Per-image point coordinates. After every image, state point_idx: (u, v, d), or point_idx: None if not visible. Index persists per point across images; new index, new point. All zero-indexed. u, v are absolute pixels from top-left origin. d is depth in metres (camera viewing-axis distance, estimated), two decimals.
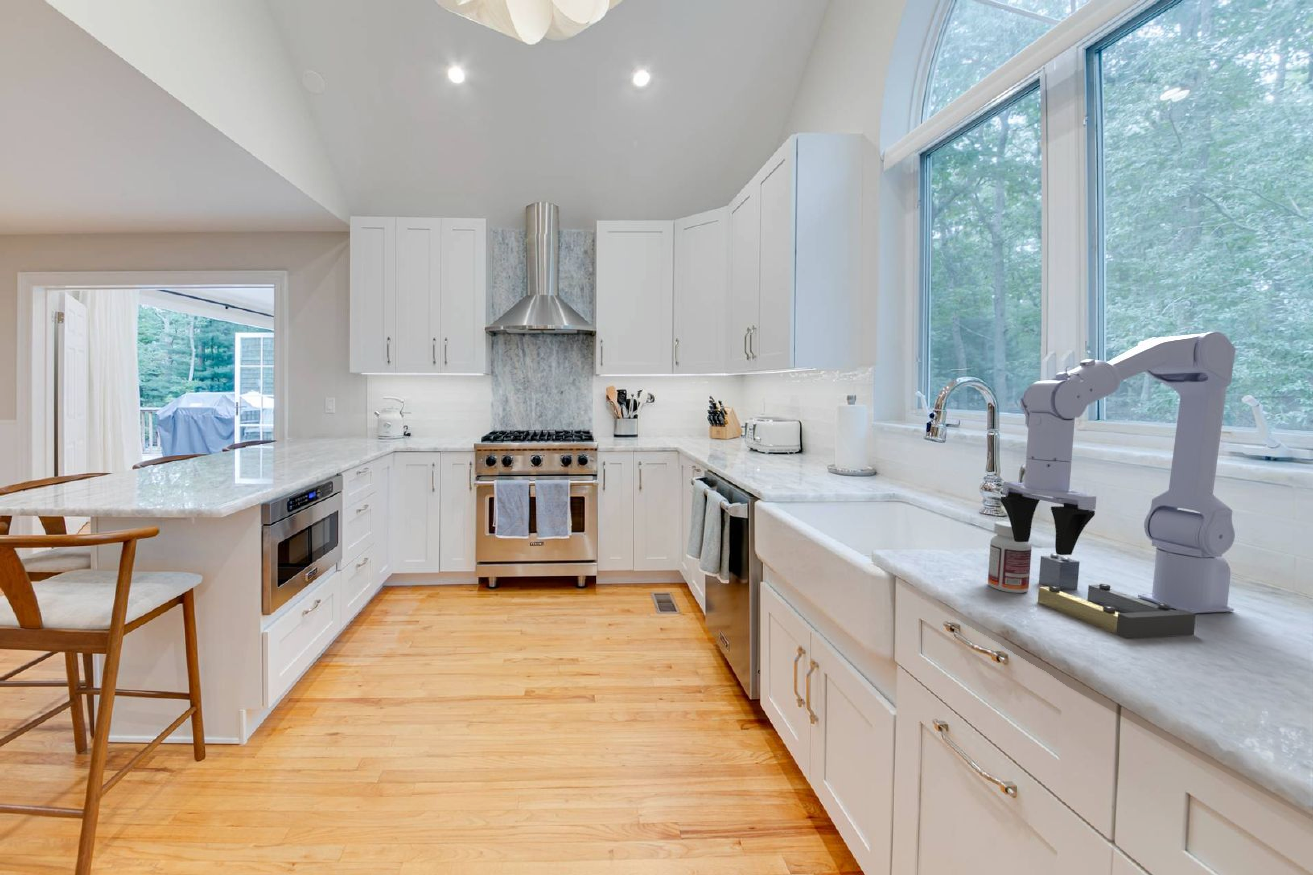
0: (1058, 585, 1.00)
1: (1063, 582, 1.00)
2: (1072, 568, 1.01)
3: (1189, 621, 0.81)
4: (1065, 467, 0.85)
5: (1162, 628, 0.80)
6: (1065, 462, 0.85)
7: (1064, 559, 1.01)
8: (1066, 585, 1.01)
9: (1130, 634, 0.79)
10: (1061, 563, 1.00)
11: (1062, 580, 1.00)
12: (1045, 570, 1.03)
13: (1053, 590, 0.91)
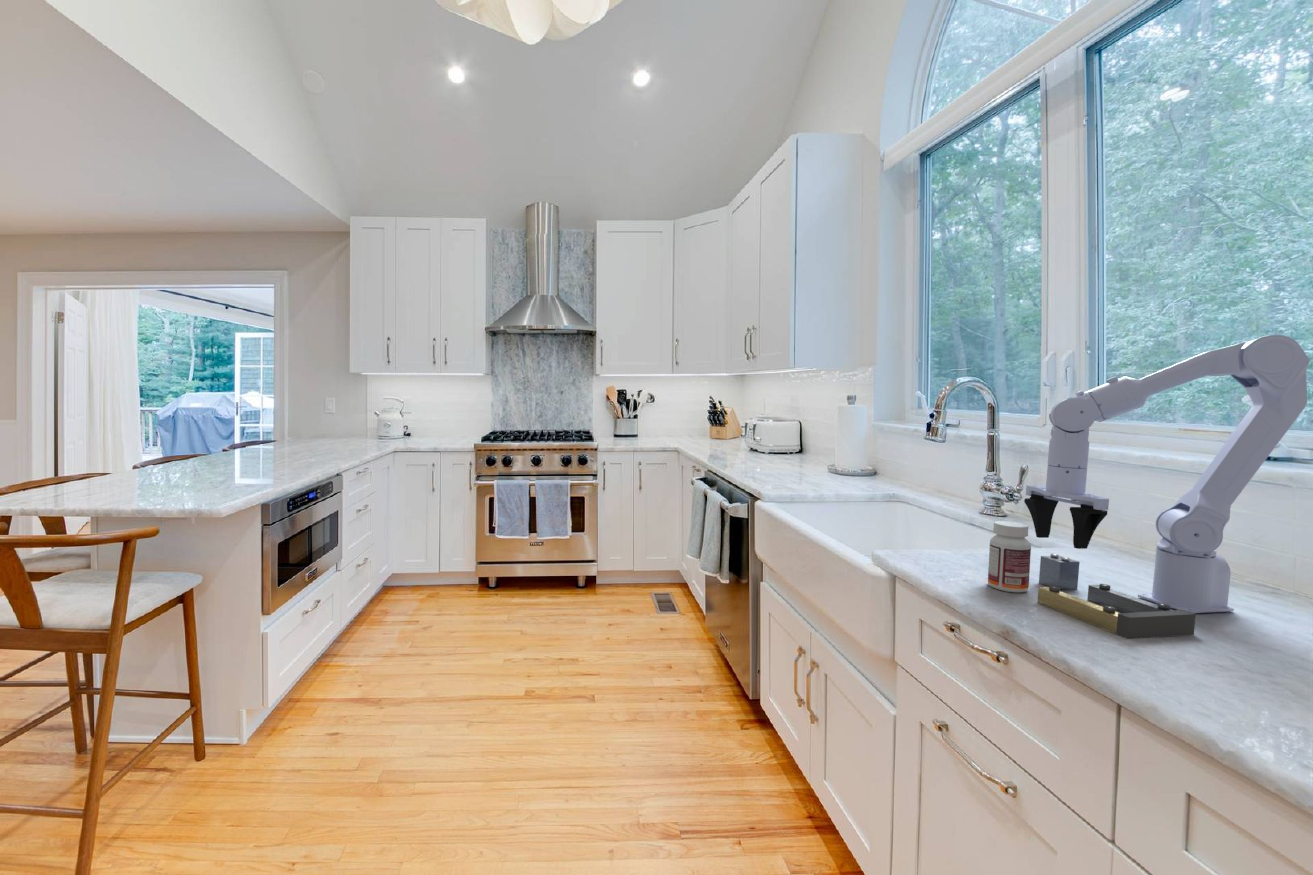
0: (1058, 585, 1.00)
1: (1063, 582, 1.00)
2: (1072, 568, 1.01)
3: (1189, 621, 0.81)
4: (1082, 473, 0.99)
5: (1162, 628, 0.80)
6: (1082, 469, 0.99)
7: (1064, 559, 1.01)
8: (1066, 585, 1.01)
9: (1130, 634, 0.79)
10: (1061, 563, 1.00)
11: (1062, 580, 1.00)
12: (1045, 570, 1.03)
13: (1053, 590, 0.91)
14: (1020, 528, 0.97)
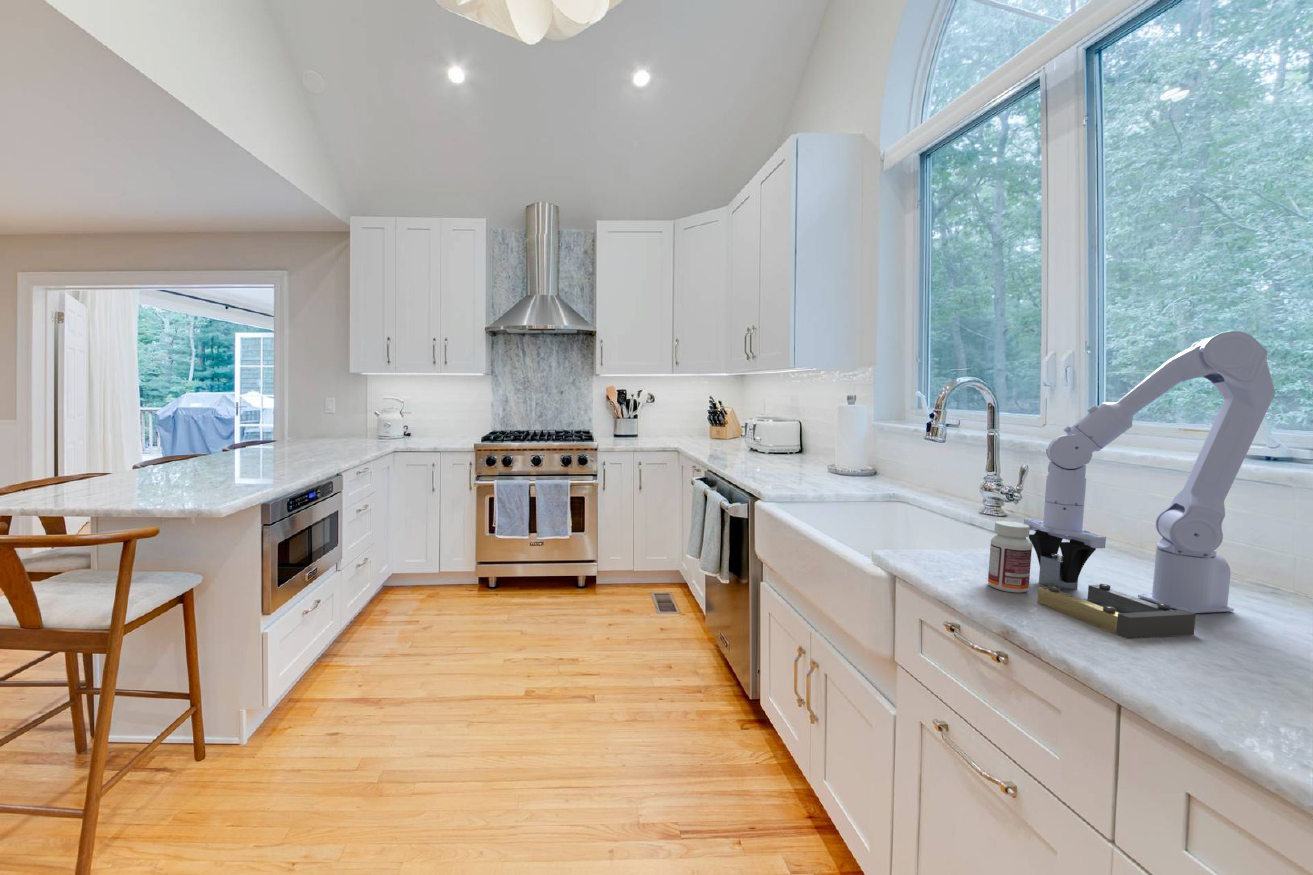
0: (1058, 585, 1.00)
1: (1063, 582, 1.00)
2: None
3: (1189, 621, 0.81)
4: (1079, 510, 0.99)
5: (1162, 628, 0.80)
6: (1079, 506, 0.99)
7: None
8: (1066, 585, 1.01)
9: (1130, 634, 0.79)
10: (1061, 563, 1.00)
11: (1062, 580, 1.00)
12: (1045, 570, 1.03)
13: (1053, 590, 0.91)
14: (1021, 528, 0.97)
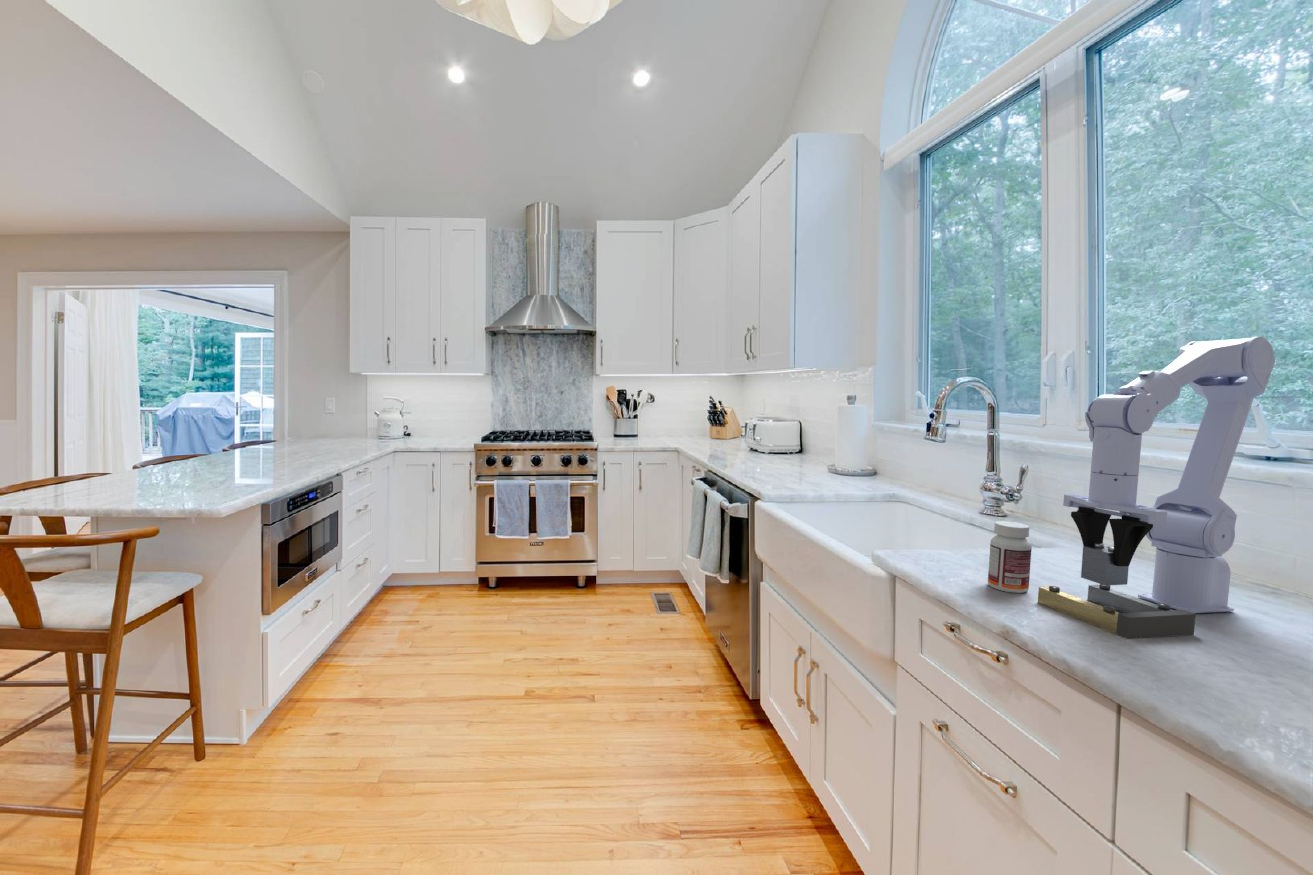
0: (1105, 579, 0.86)
1: (1110, 576, 0.86)
2: None
3: (1189, 621, 0.81)
4: (1133, 481, 0.85)
5: (1162, 628, 0.80)
6: (1133, 476, 0.85)
7: (1112, 549, 0.87)
8: (1114, 580, 0.86)
9: (1130, 634, 0.79)
10: (1108, 554, 0.86)
11: (1110, 574, 0.86)
12: (1089, 562, 0.89)
13: (1053, 590, 0.91)
14: (1021, 529, 0.97)
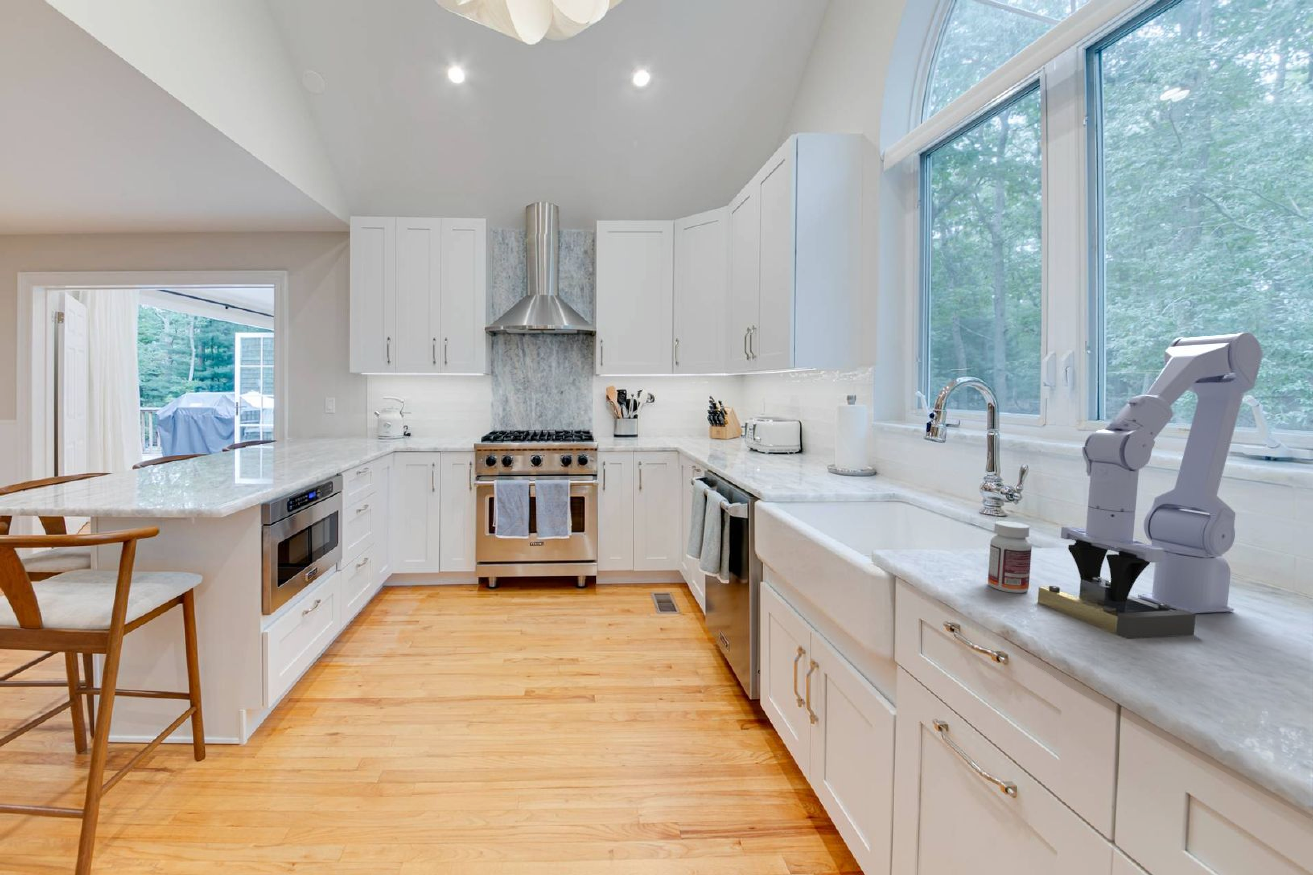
0: None
1: None
2: None
3: (1189, 621, 0.81)
4: (1130, 517, 0.85)
5: (1162, 628, 0.80)
6: (1130, 512, 0.85)
7: (1109, 583, 0.87)
8: None
9: (1130, 634, 0.79)
10: (1106, 588, 0.86)
11: None
12: (1086, 595, 0.89)
13: (1053, 590, 0.91)
14: (1021, 529, 0.97)
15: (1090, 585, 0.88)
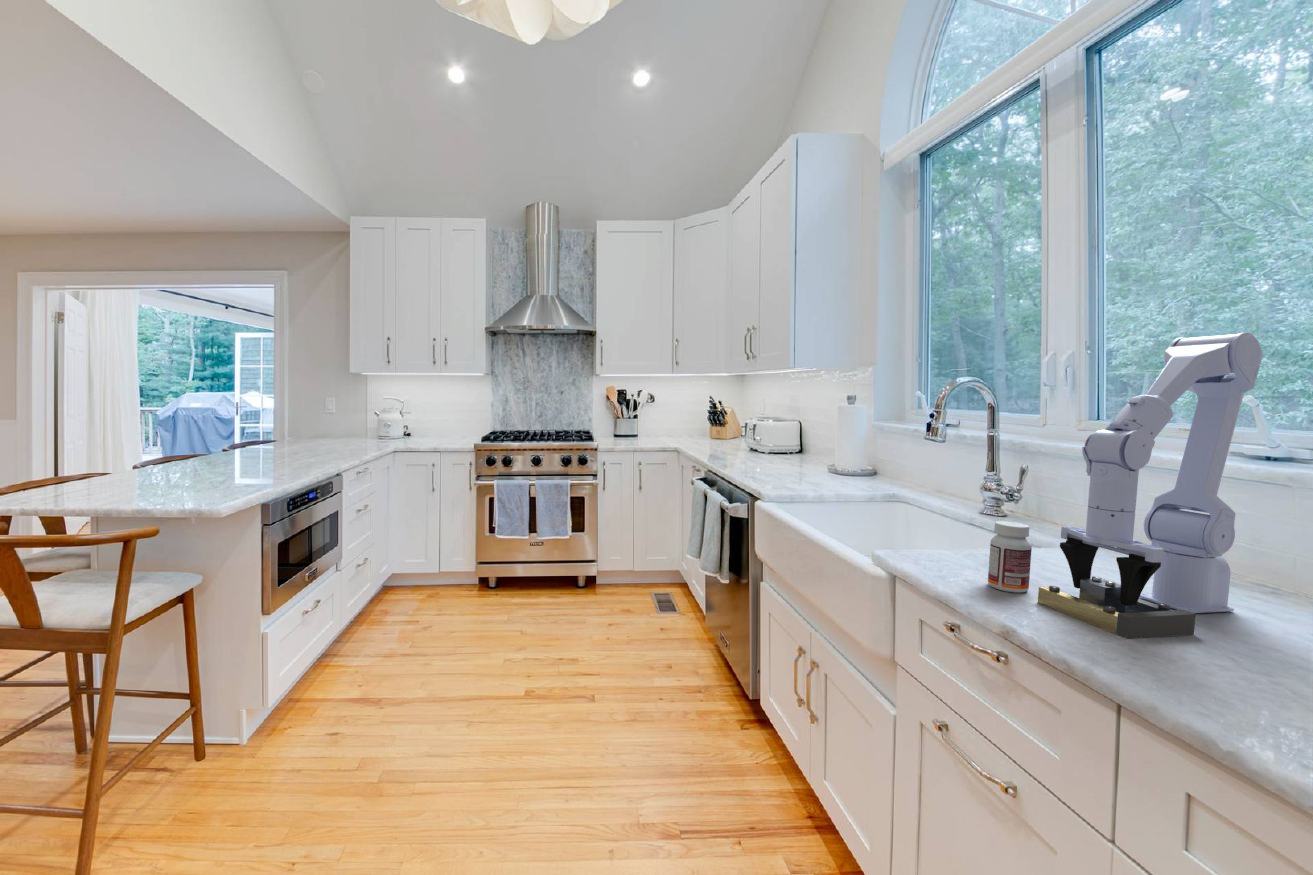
0: None
1: None
2: (1119, 594, 0.87)
3: (1189, 621, 0.81)
4: (1130, 517, 0.85)
5: (1162, 628, 0.80)
6: (1130, 512, 0.85)
7: (1109, 584, 0.87)
8: None
9: (1130, 634, 0.79)
10: (1105, 589, 0.86)
11: None
12: (1086, 596, 0.89)
13: (1053, 590, 0.91)
14: (1021, 528, 0.97)
15: (1090, 585, 0.88)
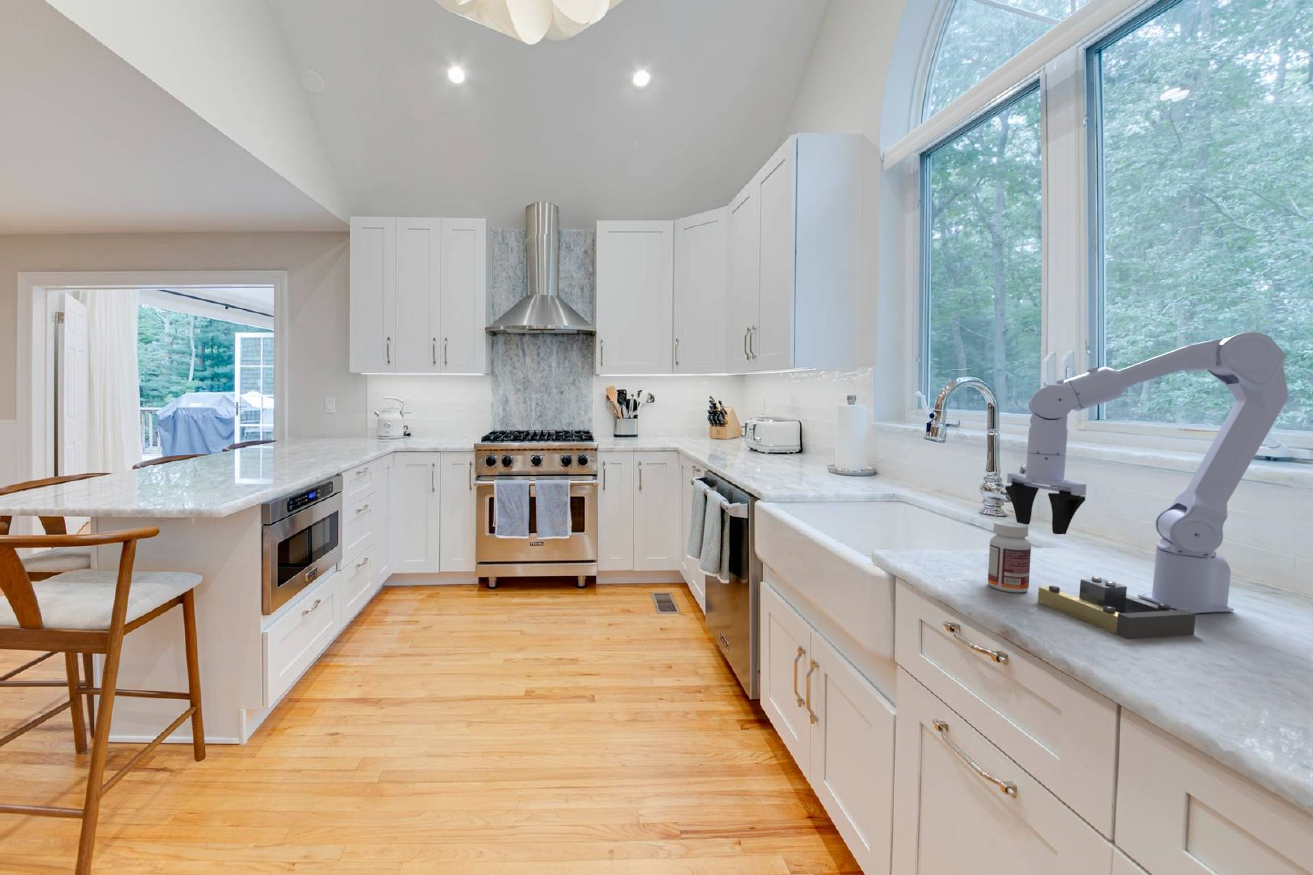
0: None
1: None
2: (1119, 594, 0.87)
3: (1189, 621, 0.81)
4: (1060, 460, 1.00)
5: (1162, 628, 0.80)
6: (1060, 456, 1.00)
7: (1109, 584, 0.87)
8: None
9: (1130, 634, 0.79)
10: (1105, 589, 0.86)
11: None
12: (1086, 596, 0.89)
13: (1053, 590, 0.91)
14: (1019, 528, 0.97)
15: (1090, 585, 0.88)
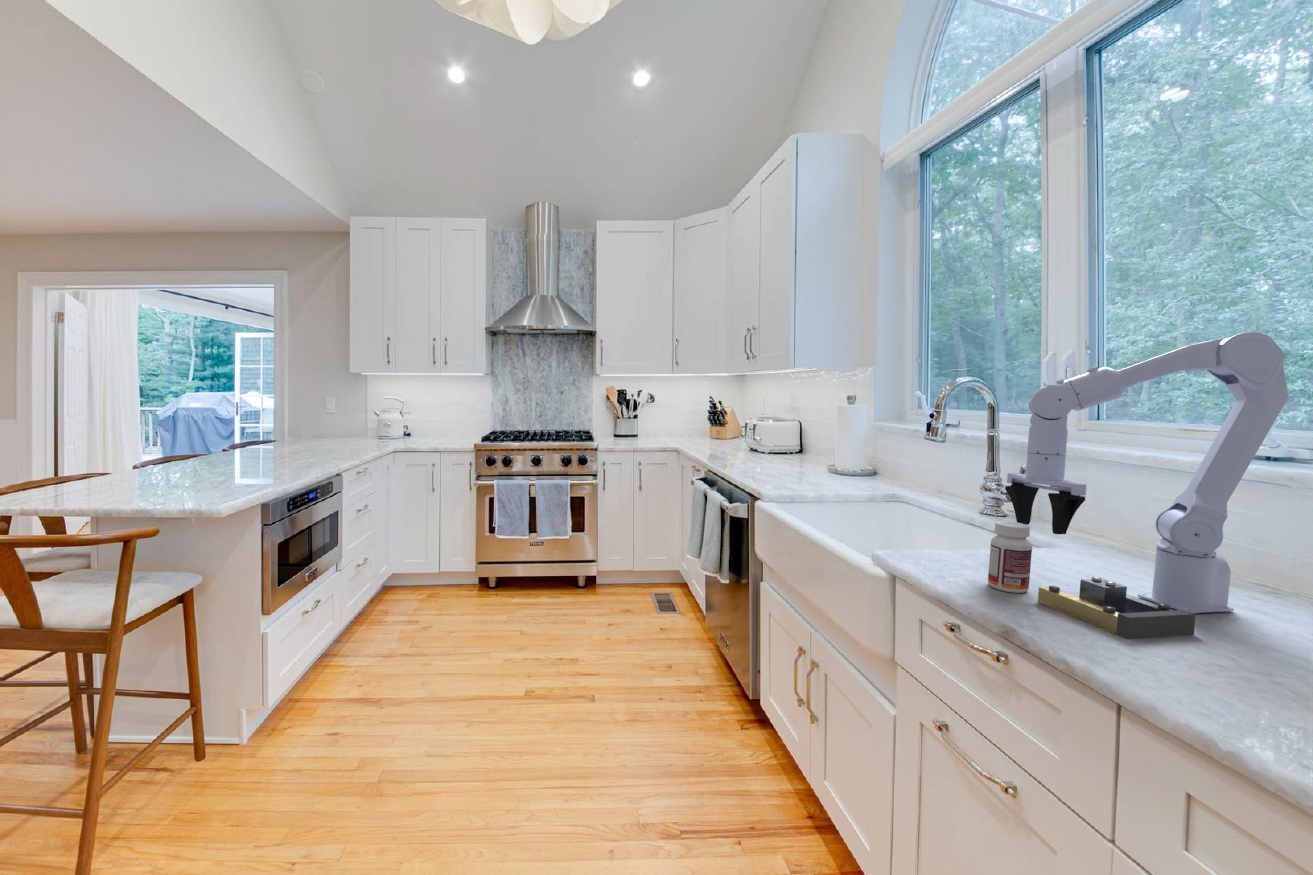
0: None
1: None
2: (1119, 594, 0.87)
3: (1189, 621, 0.81)
4: (1060, 460, 1.00)
5: (1162, 628, 0.80)
6: (1060, 456, 1.00)
7: (1109, 584, 0.87)
8: None
9: (1130, 634, 0.79)
10: (1105, 589, 0.86)
11: None
12: (1086, 596, 0.89)
13: (1053, 590, 0.91)
14: (1021, 529, 0.97)
15: (1090, 585, 0.88)
